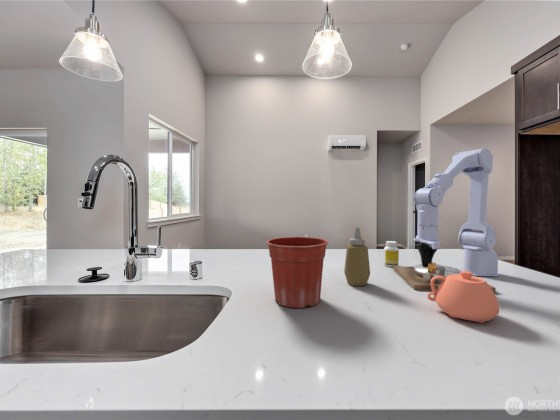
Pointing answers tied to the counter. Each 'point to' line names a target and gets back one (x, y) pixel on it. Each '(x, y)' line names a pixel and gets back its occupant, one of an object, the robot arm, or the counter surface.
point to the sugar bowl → (465, 297)
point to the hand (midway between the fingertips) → (426, 267)
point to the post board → (421, 278)
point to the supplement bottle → (391, 254)
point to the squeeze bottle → (357, 261)
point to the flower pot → (297, 270)
